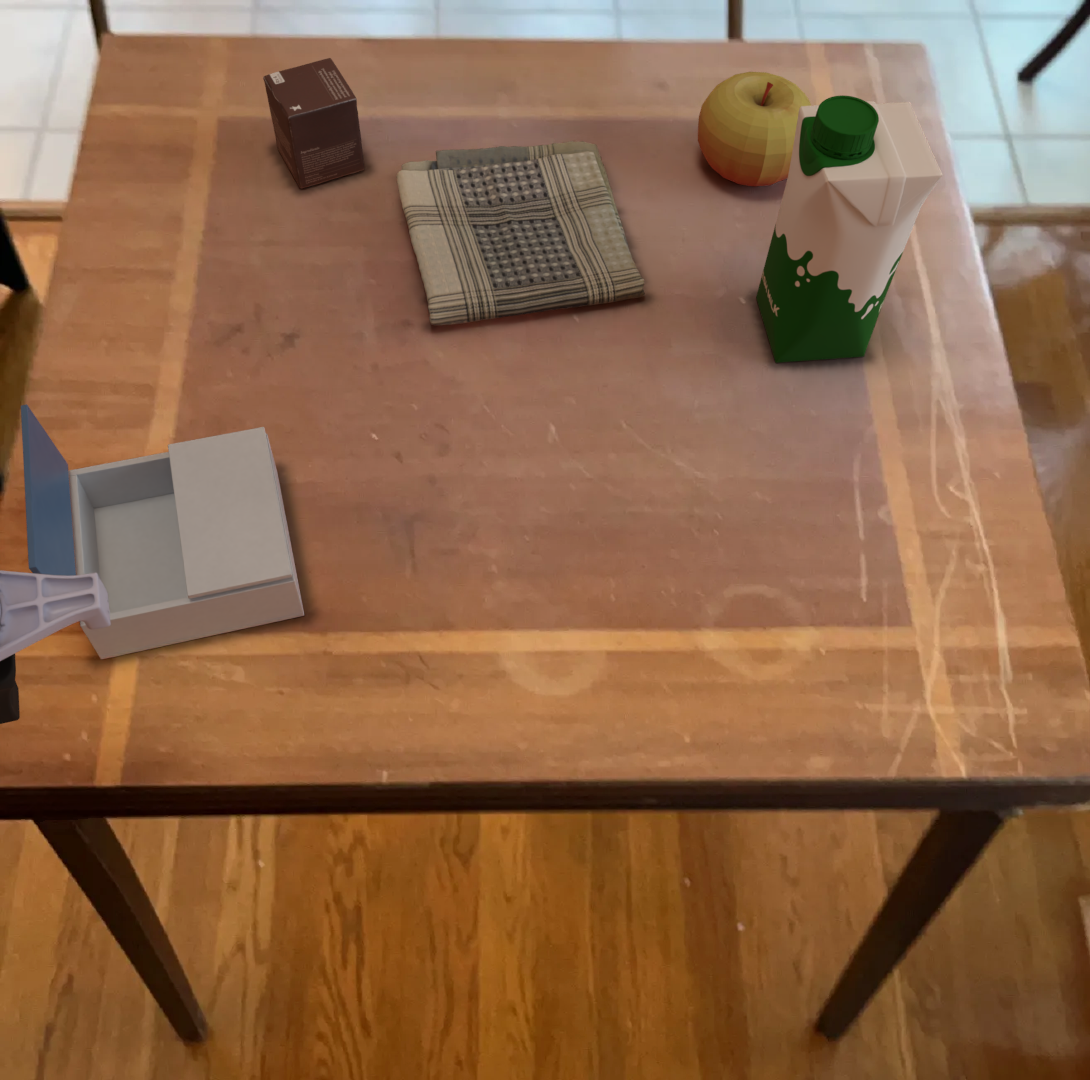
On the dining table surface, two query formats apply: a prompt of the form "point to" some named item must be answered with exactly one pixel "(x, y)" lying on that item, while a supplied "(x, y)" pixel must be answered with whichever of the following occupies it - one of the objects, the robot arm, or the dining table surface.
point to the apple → (751, 127)
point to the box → (315, 122)
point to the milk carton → (842, 225)
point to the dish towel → (516, 231)
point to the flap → (46, 501)
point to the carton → (185, 542)
